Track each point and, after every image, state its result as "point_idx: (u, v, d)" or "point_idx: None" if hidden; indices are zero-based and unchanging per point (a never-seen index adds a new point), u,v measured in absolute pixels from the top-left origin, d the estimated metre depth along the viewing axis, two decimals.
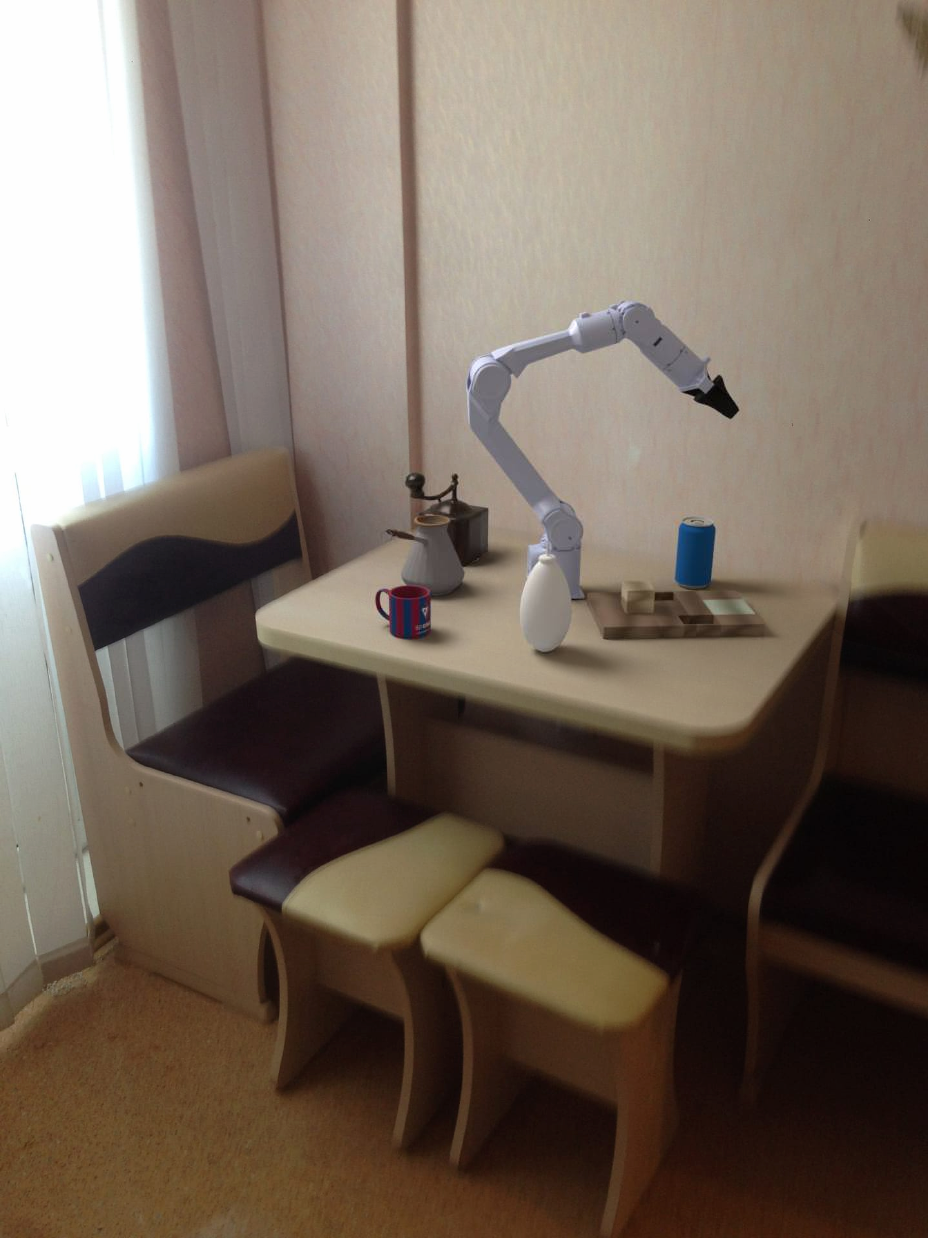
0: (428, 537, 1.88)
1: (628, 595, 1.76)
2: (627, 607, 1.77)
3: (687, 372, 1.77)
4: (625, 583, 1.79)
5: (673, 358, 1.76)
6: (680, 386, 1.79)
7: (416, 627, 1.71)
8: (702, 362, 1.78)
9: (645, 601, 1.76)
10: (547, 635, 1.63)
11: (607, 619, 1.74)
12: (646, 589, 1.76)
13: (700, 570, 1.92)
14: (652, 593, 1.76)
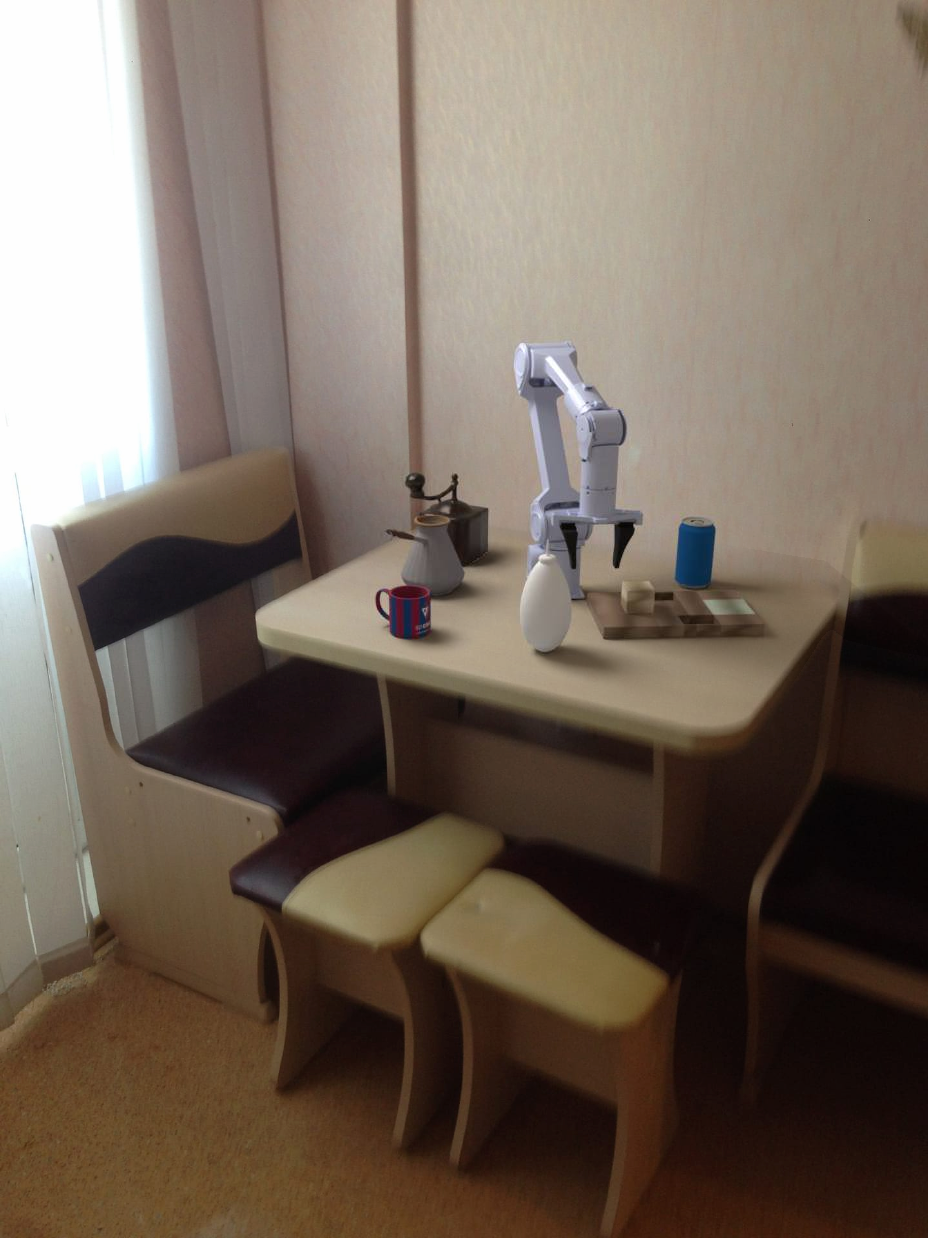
0: (428, 537, 1.88)
1: (628, 595, 1.76)
2: (627, 607, 1.77)
3: (579, 503, 1.72)
4: (625, 583, 1.79)
5: (581, 484, 1.70)
6: None
7: (417, 627, 1.71)
8: (593, 516, 1.70)
9: (645, 601, 1.76)
10: (547, 635, 1.63)
11: (607, 619, 1.74)
12: (646, 589, 1.76)
13: (700, 570, 1.92)
14: (652, 593, 1.76)
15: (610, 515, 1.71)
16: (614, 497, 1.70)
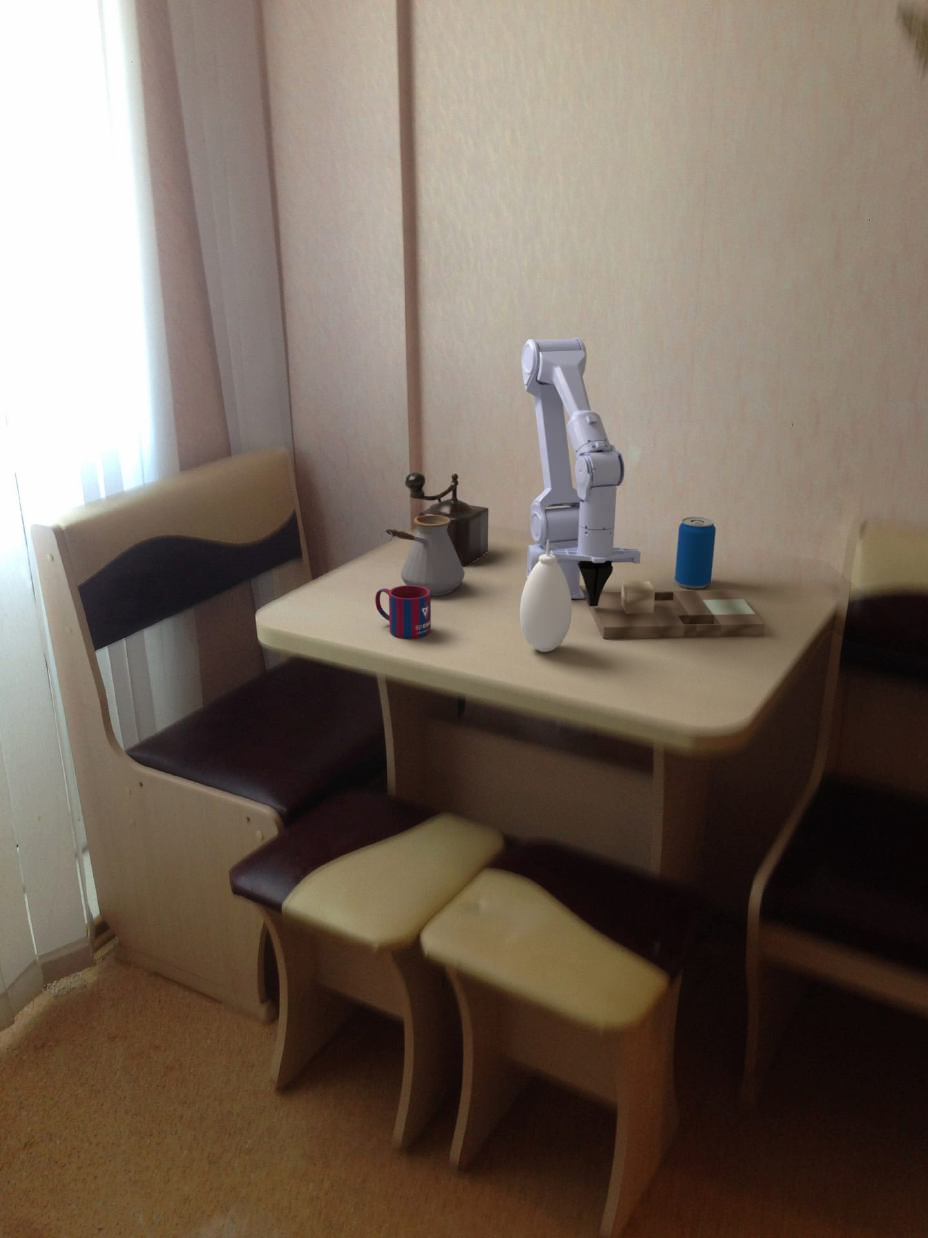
0: (428, 537, 1.88)
1: (628, 595, 1.76)
2: (627, 607, 1.77)
3: (578, 542, 1.75)
4: (625, 583, 1.79)
5: (580, 523, 1.73)
6: None
7: (417, 627, 1.71)
8: (591, 555, 1.73)
9: (645, 601, 1.76)
10: (547, 635, 1.63)
11: (607, 619, 1.74)
12: (646, 589, 1.76)
13: (700, 569, 1.92)
14: (652, 593, 1.76)
15: (608, 554, 1.73)
16: (612, 536, 1.73)
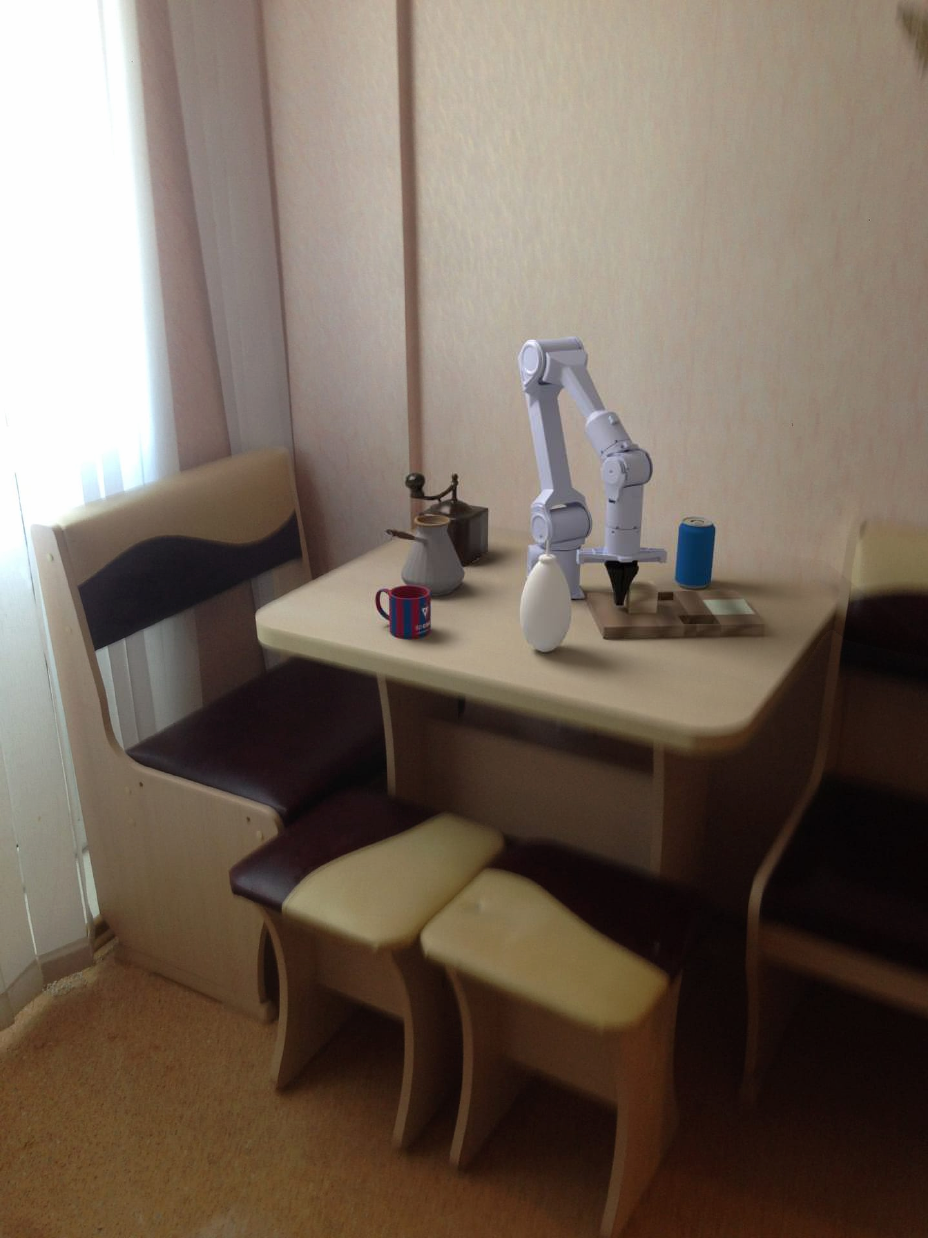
0: (428, 537, 1.88)
1: (631, 595, 1.76)
2: (630, 607, 1.77)
3: None
4: None
5: (609, 524, 1.72)
6: None
7: (416, 627, 1.71)
8: (618, 554, 1.73)
9: (648, 601, 1.76)
10: (547, 635, 1.63)
11: (607, 619, 1.74)
12: (649, 589, 1.76)
13: (700, 569, 1.92)
14: (655, 593, 1.76)
15: (635, 554, 1.73)
16: (639, 536, 1.73)
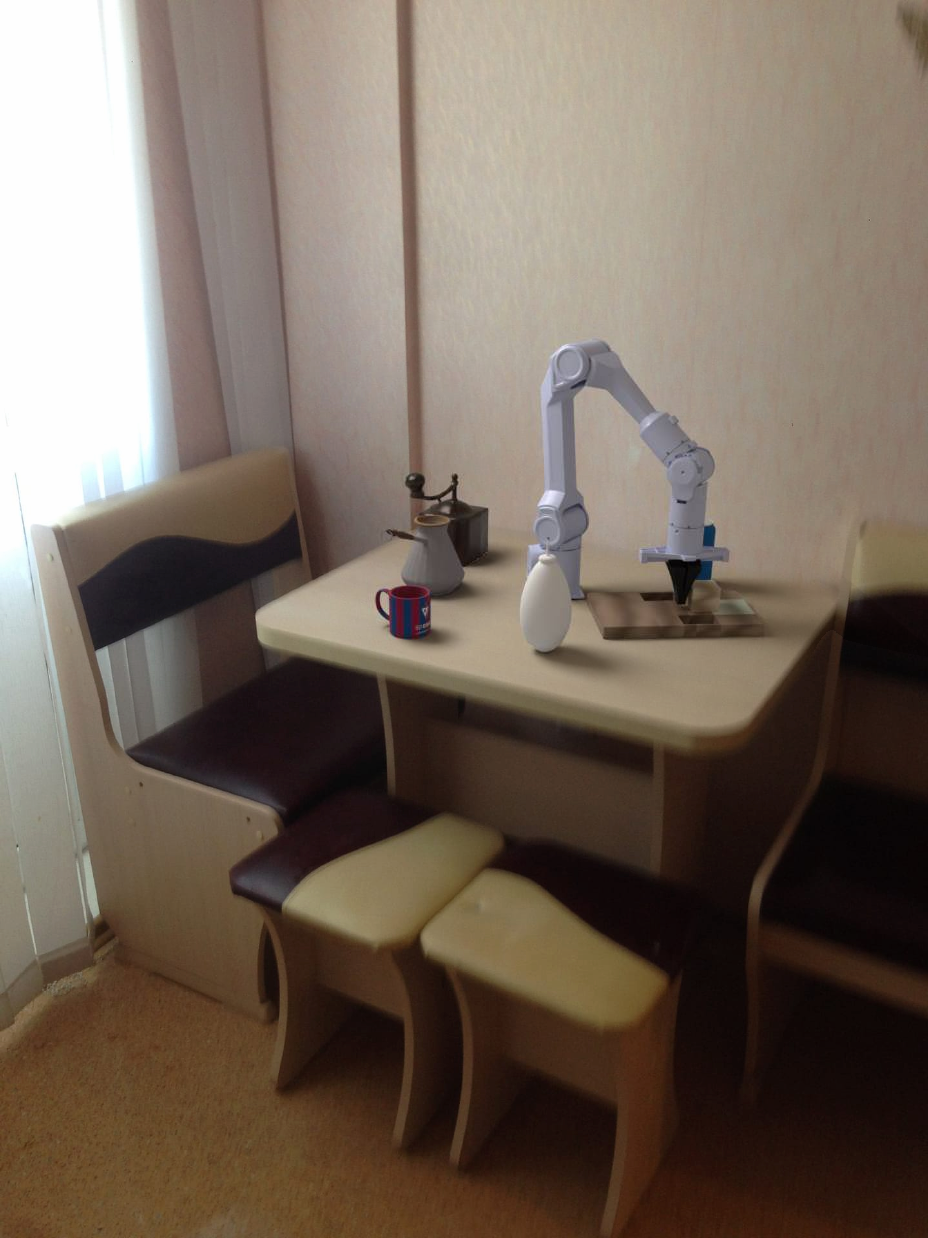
0: (428, 537, 1.88)
1: (694, 594, 1.77)
2: (693, 606, 1.77)
3: (667, 540, 1.76)
4: None
5: (678, 525, 1.72)
6: None
7: (416, 627, 1.71)
8: (681, 553, 1.73)
9: (711, 599, 1.77)
10: (547, 635, 1.63)
11: (607, 619, 1.74)
12: (712, 588, 1.77)
13: None
14: (718, 592, 1.77)
15: (698, 553, 1.74)
16: (702, 535, 1.73)
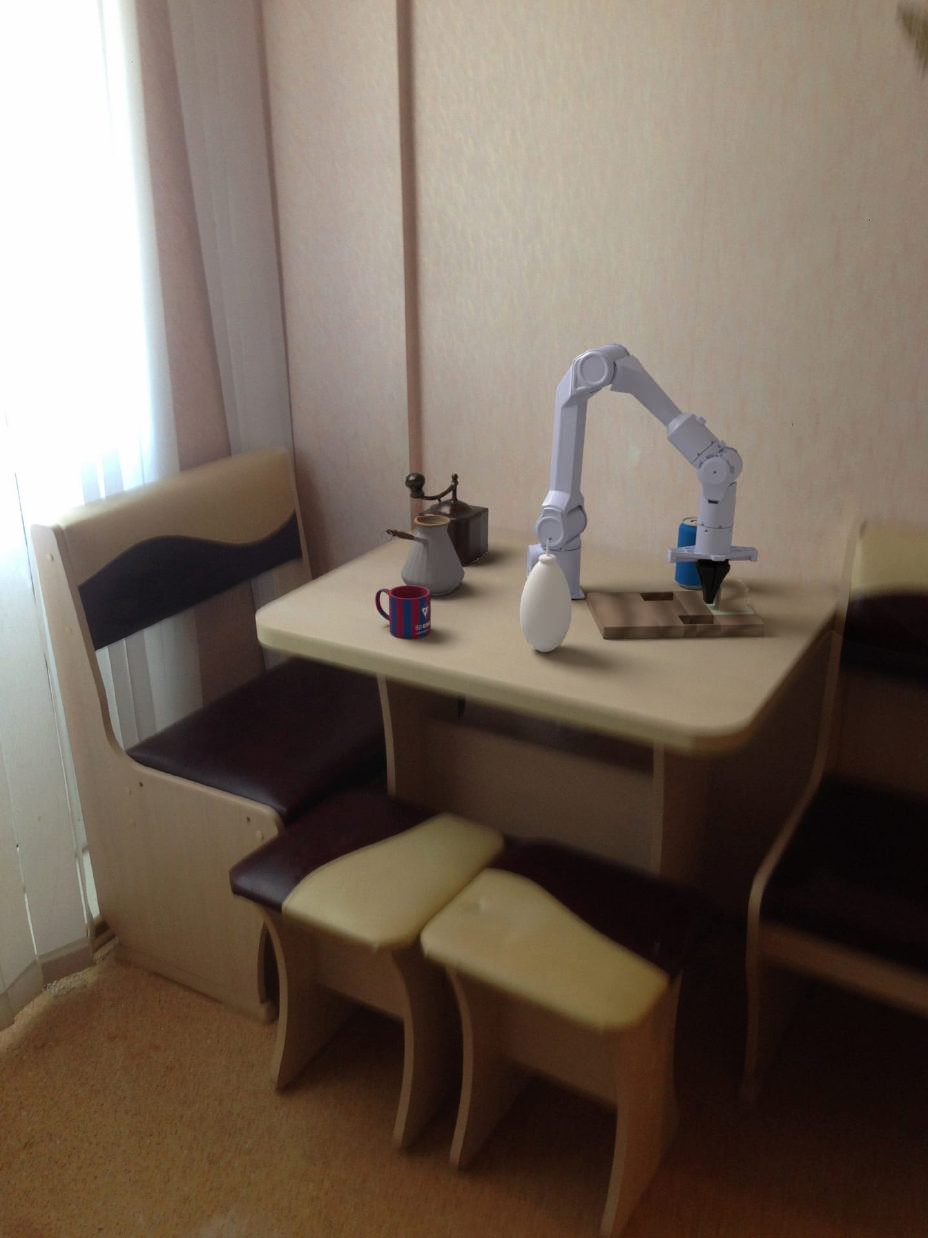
0: (428, 537, 1.88)
1: (722, 593, 1.77)
2: (721, 605, 1.78)
3: (696, 540, 1.76)
4: None
5: (709, 525, 1.72)
6: None
7: (416, 627, 1.71)
8: (710, 553, 1.74)
9: (739, 599, 1.77)
10: (547, 635, 1.63)
11: (607, 619, 1.74)
12: (740, 587, 1.77)
13: None
14: (746, 591, 1.77)
15: (727, 552, 1.74)
16: (731, 535, 1.74)
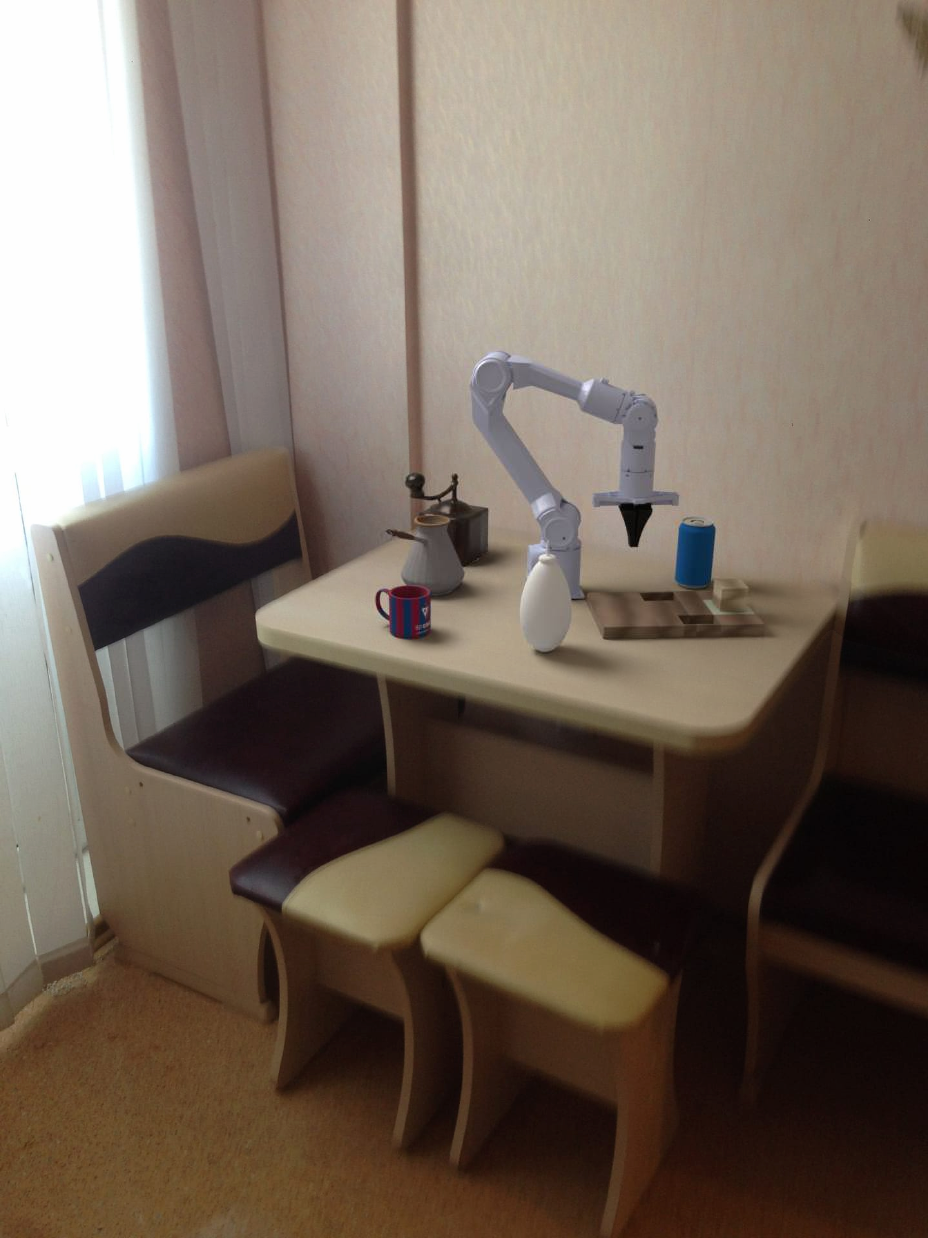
0: (428, 537, 1.88)
1: (722, 593, 1.77)
2: (721, 605, 1.78)
3: (619, 485, 1.84)
4: (718, 582, 1.80)
5: (635, 470, 1.79)
6: None
7: (416, 627, 1.71)
8: (632, 497, 1.81)
9: (739, 599, 1.77)
10: (547, 635, 1.63)
11: (607, 619, 1.74)
12: (740, 587, 1.77)
13: (700, 569, 1.92)
14: (746, 591, 1.77)
15: (648, 496, 1.82)
16: (652, 479, 1.81)
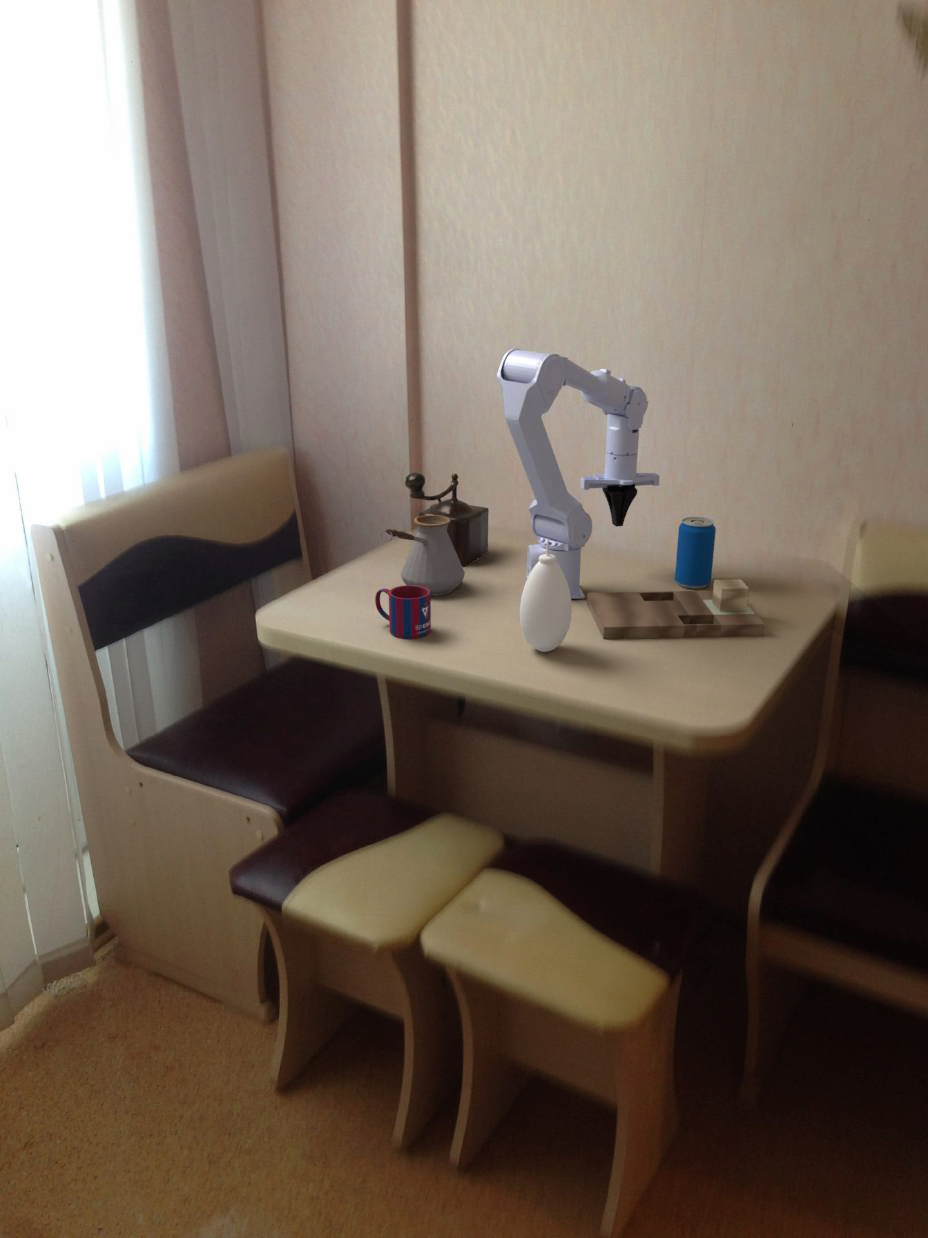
0: (428, 537, 1.88)
1: (722, 593, 1.77)
2: (721, 605, 1.78)
3: (605, 468, 1.95)
4: (718, 582, 1.80)
5: (633, 452, 1.92)
6: None
7: (416, 627, 1.71)
8: (619, 478, 1.93)
9: (739, 599, 1.77)
10: (547, 635, 1.63)
11: (607, 619, 1.74)
12: (740, 587, 1.77)
13: (700, 569, 1.92)
14: (746, 591, 1.77)
15: (633, 477, 1.94)
16: (636, 461, 1.94)
